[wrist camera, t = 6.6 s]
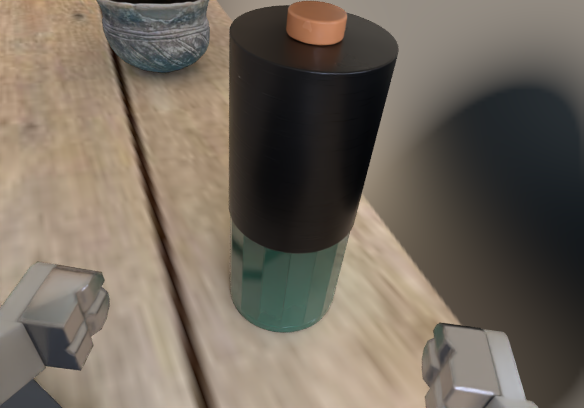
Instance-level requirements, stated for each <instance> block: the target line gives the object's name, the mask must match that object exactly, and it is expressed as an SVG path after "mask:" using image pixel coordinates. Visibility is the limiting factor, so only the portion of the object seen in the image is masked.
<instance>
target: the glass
mask: <svg viewBox="0 0 584 408" xmlns="http://www.w3.org/2000/svg"><path fill="white" fill-rule="evenodd" d="M349 234H350V232H349V233H348V235H347V236H346V237H345V238H344V239H343V240H342V241H340V242H339V243H337V244H336V245H334V246H332V247H330V248H327V249H324V250H321V251H317V252H312V253H299V254H295V253H285V252H279V251H275V250H271V249H268V248H266V247H263V246H261V245H259V244H257V243H255V242H253V241H252V240H250V239H249V238H247V237H246V236H245V235H244V234H243V233H241V232H240V230H239V229H238V228H237V227H236V225H235V224H234V222H233V221H232V218H231V216H230V292H231V297H232V300H233V303H234V305H235V307H236V308H237V310H238V311H239V312H240V314H241V315H242V316H243V317H244V318H245V319H247V320H248V321H249V322H251V323H252V324H254V325H256V326H258V327H260V328H263V329H266V330H269V331H274V332H294V331H299V330H303V329H306V328H308V327H310V326H312V325H314V324H315V323H317V322H318V321H319V320H320V319H322V317H323V316H324V315H325V314H326V313H327V311H328V310H329V307H330V305H331V303H332V300H333V296H334V292H335V289H336V285H337V281H338V277H339V273H340V269H341V265H342V261H343V257H344V253H345V249H346V246H347V242H348V238H349Z"/></svg>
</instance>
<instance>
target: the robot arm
mask: <svg viewBox="0 0 584 408" xmlns="http://www.w3.org/2000/svg"><path fill="white" fill-rule="evenodd" d="M104 281H105V280H104V277H103V274H102V272H98V271H93V270H87V269H81V268H75V267H69V266H63V265H58V264H51V263H45V262H38V261H37V262H36V263H35V264H33V265H32V266H30V268H29V269H28V270H27V272H26V273H25V274H24V276H23V277H22V279H21V280H20V281H19V283H18V284H17V285H16V287H15V288H14V290H13V291H12V292H11V294H10V295H9V296H8V298H7V299H6V300H5V302H4V303H3V305H2V306H1V307H0V405H2V404H3V403H4V402H5V401H6V400H8V399H9V398H10V397H11V396H12V395H14V394H15V393H16V392H17V391H19V390H20V389H21V388H22V387H23V386H25V385H26V384H27V383H28V382H29V381H31V380H32V379H33V378H34V377H36V376H37V375H38V374H39V373H40V372H42V371H43V370H44V369H45V368H46V367H45V366H50V367H57V368H65V369H73V370H81V369H82V367H83V365H84V363H85V361H86V359H87V357H88V355H89V353H90V351H91V349H92V347H93V342H92V338H91V336H92V335H94V334H95V333H97V332H98V331H100V330H101V329H102V327H103V325H104V323H105V321H106V319H107V315H108V311H109V307H110V298H109V294H108V292H107V291H106V290H105V289H104V288H102V285H103V283H104ZM433 333H434V338H433V339H431V340H428V341H427V343H426V345H425V347H424V350H423V356H422V376H423V380H424V381H425V382H426V384H427V385H428V386H429V388H430V389H429V391H428V392H427V394H426V396H425V403H426V408H538V407H537V406H536V405H535V404H534V402H532V401H527V400H526V398H525V394H524V391H523V388H522V384H521V381H520V377H519V374H518V371H517V367H516V364H515V360H514V357H513V354H512V350H511V347H510V343H509V340H508V337H507V336H506V334H505V333H504V332H500V331H493V330H485V329H481V328H475V327H469V326H461V325H454V324H447V323H439V324H437V325H436V326H435V328H434V330H433Z"/></svg>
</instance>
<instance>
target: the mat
mask: <svg viewBox="0 0 584 408" xmlns="http://www.w3.org/2000/svg"><path fill="white" fill-rule="evenodd" d="M0 408H62V407H61V406H60V405H59V404H58V403H57V402H56V401H55V400H54V399H53V398H52V397H51V396H50V395H49V394H48V393H47V392H46V391H45V390H44V389H43V388H42V387H41V386H40V385H39V384H38V383H37V382H36V381H35V380H34V379H32V380H31V381H29V382H28V383H27V384H26V385H25V386H23V387H22V388H21V389H20V390H19V391H17V392H16V393H15V394H14V395H12V396H11V397H10V398H9V399H8V400H6V401H5V402H4V403H3V404H2V405H0Z"/></svg>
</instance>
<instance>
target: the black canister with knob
mask: <svg viewBox="0 0 584 408" xmlns="http://www.w3.org/2000/svg"><path fill="white" fill-rule="evenodd" d="M397 55H398V44H397V41H396V40H395V38H394V37H393V36H392V35H391V34H390V33H389V32H388V31H386V30H385V29H383V28H382V27H380V26H379V25H377V24H375V23H373V22H371V21H369V20H366V19H364V18H361V17H359V16H356V15H353V14H349V13H346V12H345V11H344V10H343V9H342V8H340V7H338V6H335V5H332V4H329V3H325V2H318V1H302V2H296V3H293V4H291V5H286V6H272V7H265V8H260V9H255V10H253V11H249V12H247V13H244V14H243V15H241V16H239V17H237V18H236V19H235V20H234V21H233V23H232V24H231V27H230V55H229V212H230V216H231V218H232V221H233V222H234V224H235V225H236V227H237V228H238V229H239V230H240V232H241V233H243V234H244V235H245V236H246V237H247V238H249V239H250V240H252V241H253V242H255V243H257V244H259V245H261V246H263V247H266V248H268V249H271V250H275V251H279V252H285V253H295V254H299V253H312V252H317V251H321V250H324V249H327V248H330V247H332V246H334V245H336V244H337V243H339V242H340V241H342V240H343V239H344V238H345V237H346V236H347V235H348V233H349V232H350V231H351V229H352V227H353V225H354V221H355V217H356V213H357V209H358V206H359V202H360V198H361V194H362V190H363V186H364V182H365V178H366V175H367V171H368V167H369V163H370V159H371V155H372V152H373V147H374V144H375V140H376V136H377V132H378V128H379V125H380V121H381V117H382V113H383V109H384V105H385V102H386V97H387V94H388V90H389V86H390V82H391V78H392V74H393V71H394V67H395V63H396V59H397Z"/></svg>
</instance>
